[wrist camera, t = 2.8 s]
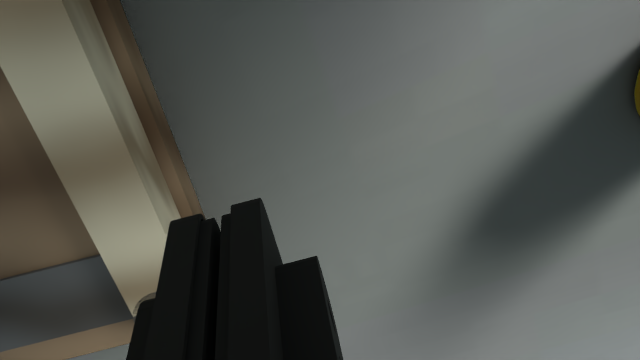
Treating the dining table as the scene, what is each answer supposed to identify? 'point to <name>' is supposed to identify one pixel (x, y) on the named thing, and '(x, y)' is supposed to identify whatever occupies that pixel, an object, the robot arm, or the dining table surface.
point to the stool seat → (69, 224)
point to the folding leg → (90, 135)
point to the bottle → (637, 93)
